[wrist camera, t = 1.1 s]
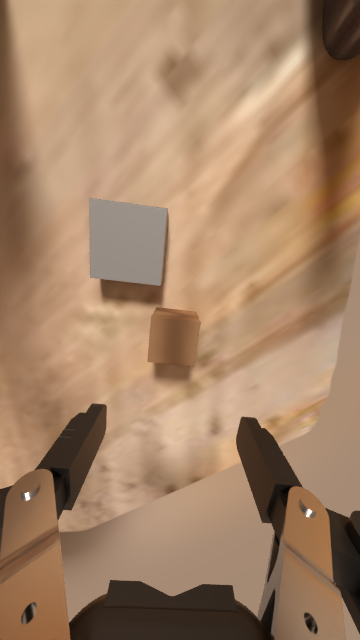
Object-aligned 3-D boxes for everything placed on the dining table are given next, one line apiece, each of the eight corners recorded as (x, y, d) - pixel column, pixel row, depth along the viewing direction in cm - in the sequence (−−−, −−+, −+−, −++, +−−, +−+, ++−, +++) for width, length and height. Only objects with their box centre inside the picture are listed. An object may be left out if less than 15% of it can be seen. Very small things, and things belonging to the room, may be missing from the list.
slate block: (101, 276, 27) (90, 277, 23) (101, 208, 24) (89, 197, 21) (162, 283, 27) (160, 285, 24) (168, 217, 25) (167, 208, 21)
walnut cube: (153, 343, 29) (147, 361, 23) (156, 307, 28) (151, 316, 22) (190, 347, 29) (193, 366, 24) (195, 311, 28) (200, 322, 22)
